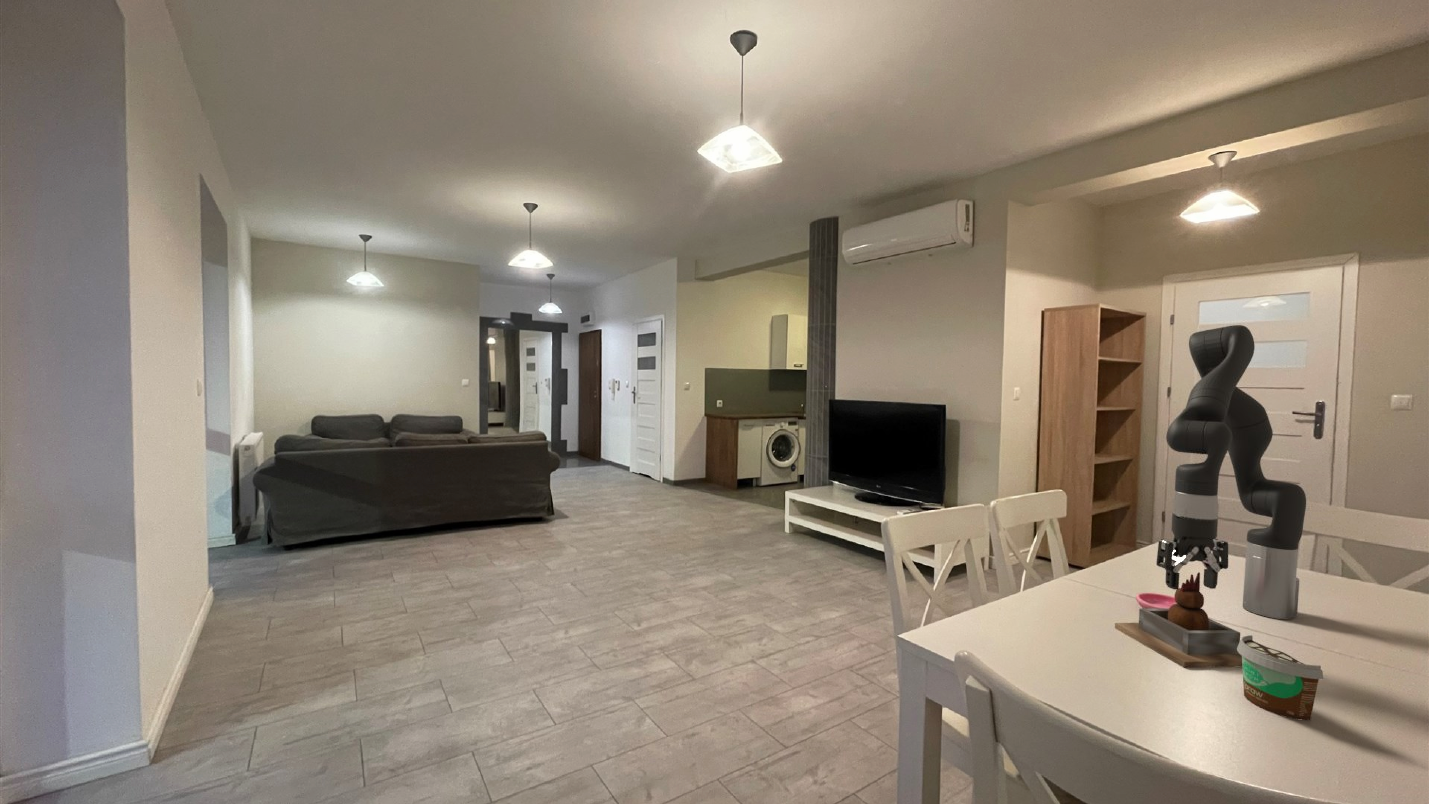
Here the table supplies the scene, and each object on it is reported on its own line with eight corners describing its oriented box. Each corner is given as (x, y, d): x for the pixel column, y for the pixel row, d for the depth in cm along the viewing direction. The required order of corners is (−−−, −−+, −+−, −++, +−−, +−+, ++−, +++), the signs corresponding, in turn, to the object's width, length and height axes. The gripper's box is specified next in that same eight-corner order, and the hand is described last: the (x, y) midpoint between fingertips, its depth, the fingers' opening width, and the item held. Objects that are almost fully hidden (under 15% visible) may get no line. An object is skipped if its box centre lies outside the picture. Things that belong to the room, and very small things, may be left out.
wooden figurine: (1199, 637, 125) (1203, 570, 124) (1212, 649, 120) (1216, 578, 119) (1162, 632, 127) (1166, 566, 127) (1173, 643, 122) (1177, 574, 121)
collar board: (1187, 627, 133) (1189, 603, 133) (1267, 666, 115) (1269, 638, 115) (1114, 628, 132) (1116, 603, 132) (1184, 667, 114) (1185, 639, 114)
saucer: (1175, 605, 147) (1176, 593, 147) (1212, 626, 134) (1213, 613, 134) (1124, 602, 148) (1124, 590, 148) (1156, 622, 136) (1156, 609, 136)
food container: (1215, 686, 107) (1219, 634, 107) (1245, 685, 108) (1249, 633, 107) (1287, 726, 95) (1290, 668, 94) (1320, 725, 95) (1324, 667, 95)
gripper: (1209, 509, 126) (1205, 581, 127) (1148, 509, 125) (1145, 582, 126) (1243, 517, 119) (1238, 594, 120) (1179, 518, 118) (1175, 595, 119)
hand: (1190, 587), depth 123 cm, fingers open, 8 cm apart
